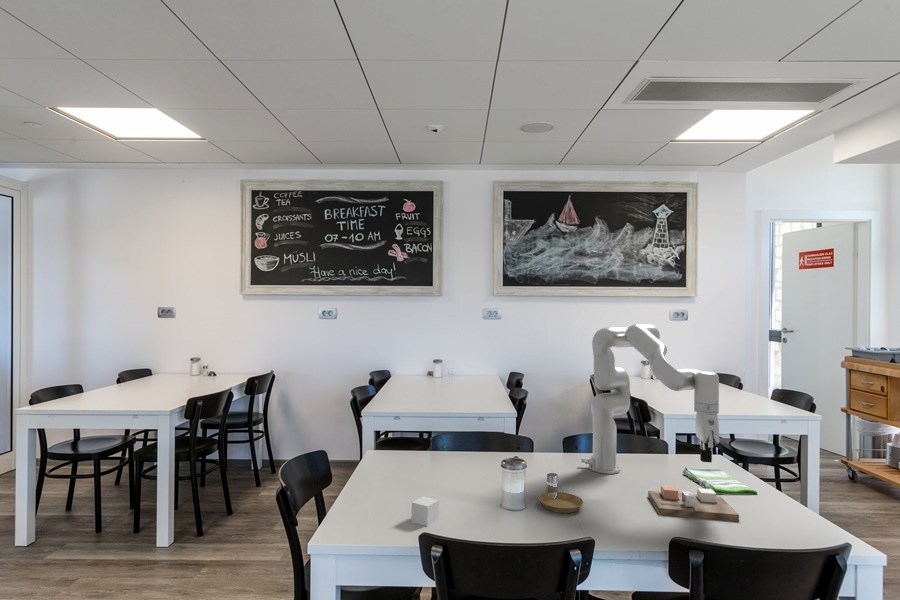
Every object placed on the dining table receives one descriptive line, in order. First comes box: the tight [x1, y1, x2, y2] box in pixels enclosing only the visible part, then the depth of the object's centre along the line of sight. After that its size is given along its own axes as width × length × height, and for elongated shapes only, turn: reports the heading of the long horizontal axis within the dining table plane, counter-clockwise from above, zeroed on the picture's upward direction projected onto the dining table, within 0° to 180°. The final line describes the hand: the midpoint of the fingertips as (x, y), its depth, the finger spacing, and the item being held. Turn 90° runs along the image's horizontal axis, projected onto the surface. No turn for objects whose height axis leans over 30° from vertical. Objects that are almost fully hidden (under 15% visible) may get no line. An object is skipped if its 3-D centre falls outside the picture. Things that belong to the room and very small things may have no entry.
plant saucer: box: [538, 491, 584, 514], centre depth 166 cm, size 15×15×3 cm
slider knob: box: [681, 490, 696, 507], centre depth 163 cm, size 3×4×4 cm
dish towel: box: [682, 466, 759, 495], centre depth 192 cm, size 17×23×4 cm
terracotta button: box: [660, 484, 679, 500], centre depth 171 cm, size 5×5×3 cm
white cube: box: [410, 495, 440, 527], centre depth 153 cm, size 6×6×6 cm
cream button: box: [696, 487, 717, 503], centre depth 169 cm, size 5×5×3 cm
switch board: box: [647, 490, 740, 522], centre depth 167 cm, size 24×16×2 cm, turn 80°
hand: (706, 461), depth 170 cm, fingers closed
